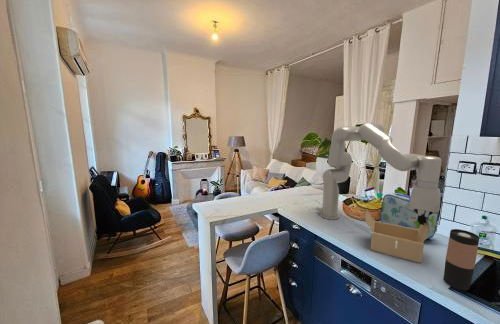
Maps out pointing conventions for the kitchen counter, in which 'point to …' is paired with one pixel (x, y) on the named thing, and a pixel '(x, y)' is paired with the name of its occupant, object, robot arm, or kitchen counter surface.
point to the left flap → (369, 219)
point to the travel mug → (460, 258)
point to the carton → (397, 241)
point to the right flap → (424, 230)
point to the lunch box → (404, 213)
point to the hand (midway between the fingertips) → (421, 223)
